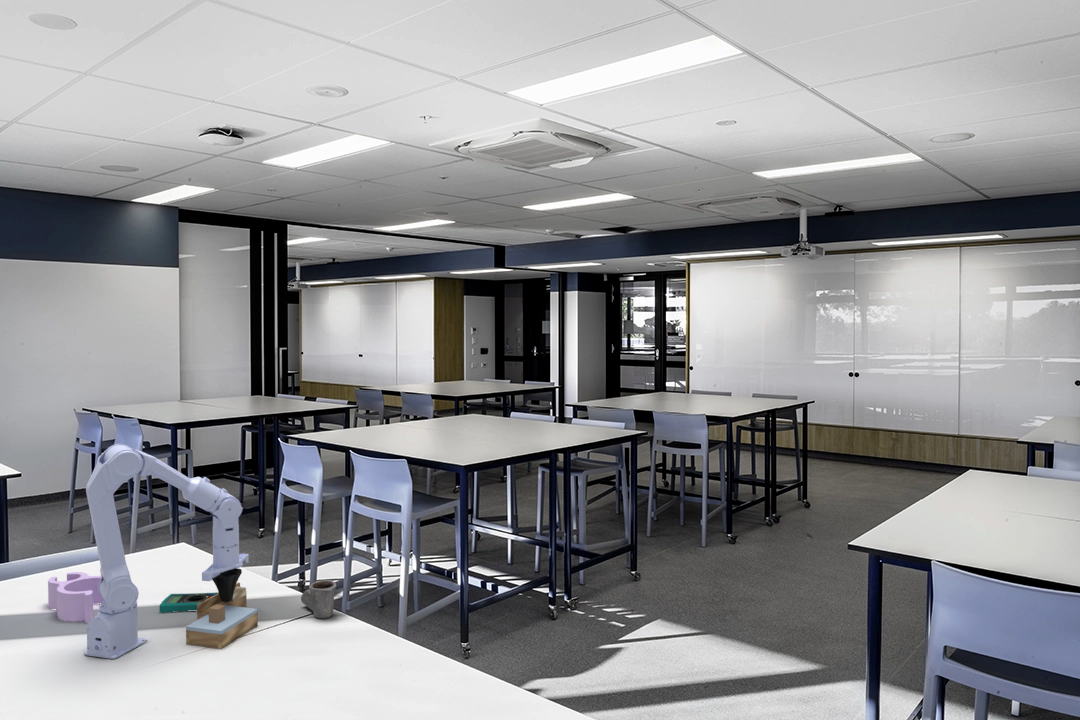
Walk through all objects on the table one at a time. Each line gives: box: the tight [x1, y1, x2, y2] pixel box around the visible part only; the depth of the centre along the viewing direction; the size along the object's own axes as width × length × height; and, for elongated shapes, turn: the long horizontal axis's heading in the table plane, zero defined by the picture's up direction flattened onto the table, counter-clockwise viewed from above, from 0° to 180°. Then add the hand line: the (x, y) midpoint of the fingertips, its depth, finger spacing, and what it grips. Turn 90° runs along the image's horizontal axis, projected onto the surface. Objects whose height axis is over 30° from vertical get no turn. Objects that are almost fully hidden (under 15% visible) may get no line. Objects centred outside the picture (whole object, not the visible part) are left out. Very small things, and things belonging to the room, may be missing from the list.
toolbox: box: [185, 582, 259, 650], centre depth 172 cm, size 22×11×6 cm, turn 166°
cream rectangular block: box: [230, 586, 247, 602], centre depth 179 cm, size 5×2×2 cm, turn 166°
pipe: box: [300, 579, 337, 619], centre depth 181 cm, size 6×13×8 cm, turn 45°
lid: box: [185, 604, 258, 635], centre depth 168 cm, size 13×9×5 cm
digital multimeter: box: [159, 591, 219, 613], centre depth 185 cm, size 7×15×3 cm, turn 98°
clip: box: [47, 571, 104, 624], centre depth 182 cm, size 20×12×7 cm, turn 59°
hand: (226, 601), depth 175 cm, fingers closed
